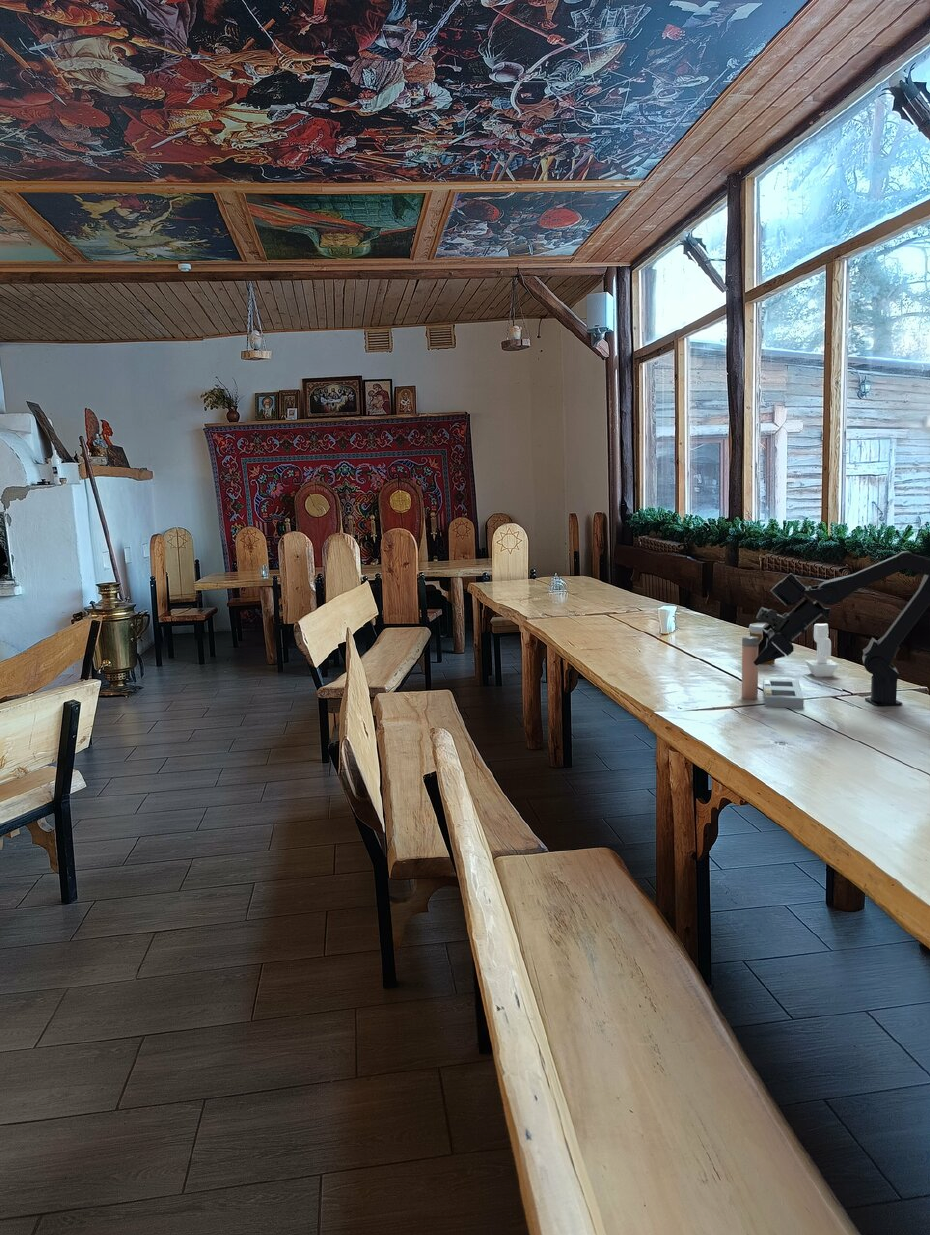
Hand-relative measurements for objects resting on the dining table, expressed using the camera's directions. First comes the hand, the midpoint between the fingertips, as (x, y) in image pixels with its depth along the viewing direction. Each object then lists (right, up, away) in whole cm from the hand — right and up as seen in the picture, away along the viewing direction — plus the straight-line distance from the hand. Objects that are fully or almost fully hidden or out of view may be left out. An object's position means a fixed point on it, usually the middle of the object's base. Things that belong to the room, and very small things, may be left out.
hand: (753, 660), depth 210 cm
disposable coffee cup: (+18, -3, +42) cm, 46 cm away
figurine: (+28, -6, +23) cm, 37 cm away
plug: (0, -10, +2) cm, 10 cm away
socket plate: (+8, -10, 0) cm, 12 cm away
